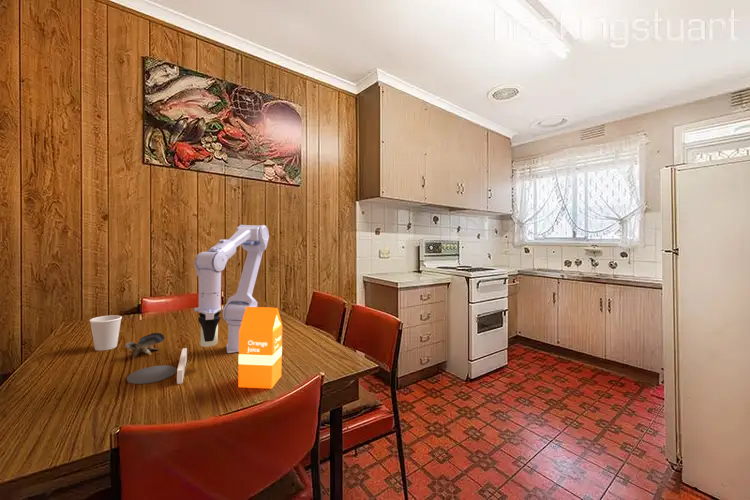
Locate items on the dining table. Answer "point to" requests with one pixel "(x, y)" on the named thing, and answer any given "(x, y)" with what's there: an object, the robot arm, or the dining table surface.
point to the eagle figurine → (145, 343)
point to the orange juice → (260, 348)
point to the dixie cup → (105, 331)
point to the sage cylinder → (209, 343)
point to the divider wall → (181, 366)
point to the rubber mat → (151, 374)
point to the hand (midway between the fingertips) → (209, 338)
